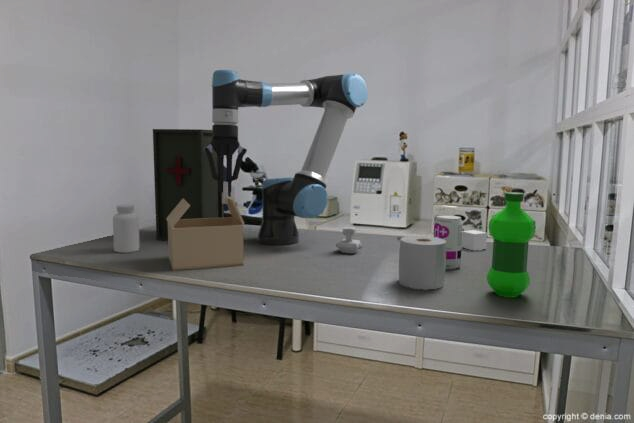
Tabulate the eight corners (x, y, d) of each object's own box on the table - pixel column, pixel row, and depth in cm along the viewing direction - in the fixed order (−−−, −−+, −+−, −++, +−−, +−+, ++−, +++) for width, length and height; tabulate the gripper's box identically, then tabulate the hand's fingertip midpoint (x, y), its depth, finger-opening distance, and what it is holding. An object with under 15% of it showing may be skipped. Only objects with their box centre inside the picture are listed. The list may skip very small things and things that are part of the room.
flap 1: (184, 199, 155) (182, 198, 154) (190, 205, 141) (188, 204, 141) (167, 219, 154) (166, 218, 153) (172, 228, 140) (170, 226, 140)
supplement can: (445, 271, 145) (447, 219, 142) (426, 264, 152) (428, 215, 150) (466, 268, 148) (469, 218, 146) (447, 261, 156) (449, 214, 153)
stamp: (364, 251, 169) (364, 226, 168) (360, 255, 163) (361, 230, 161) (337, 249, 171) (338, 225, 170) (333, 253, 165) (334, 228, 164)
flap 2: (232, 217, 161) (234, 216, 161) (242, 224, 147) (244, 223, 147) (222, 194, 159) (223, 193, 159) (231, 200, 145) (233, 199, 145)
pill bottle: (131, 253, 161) (129, 207, 159) (108, 252, 162) (106, 206, 160) (144, 248, 169) (142, 204, 166) (123, 247, 170) (121, 203, 168)
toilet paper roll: (396, 276, 138) (398, 235, 137) (441, 278, 137) (443, 236, 136) (399, 289, 127) (401, 244, 125) (448, 291, 125) (450, 245, 124)
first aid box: (224, 233, 197) (222, 130, 191) (203, 242, 179) (200, 129, 174) (181, 231, 201) (178, 130, 196) (156, 239, 183) (152, 129, 178)
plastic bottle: (476, 289, 127) (482, 191, 124) (513, 287, 129) (520, 190, 126) (499, 301, 117) (507, 195, 114) (539, 299, 120) (547, 195, 116)
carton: (232, 253, 163) (232, 217, 161) (243, 265, 148) (243, 225, 147) (168, 258, 156) (167, 219, 154) (173, 270, 141) (172, 228, 139)
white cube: (473, 246, 179) (474, 230, 178) (486, 249, 174) (487, 232, 173) (460, 248, 176) (461, 231, 176) (473, 251, 171) (474, 234, 170)
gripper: (205, 123, 143) (205, 205, 146) (249, 124, 147) (248, 204, 151) (201, 123, 150) (201, 202, 153) (243, 125, 154) (243, 201, 158)
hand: (224, 203), depth 152 cm, fingers closed
